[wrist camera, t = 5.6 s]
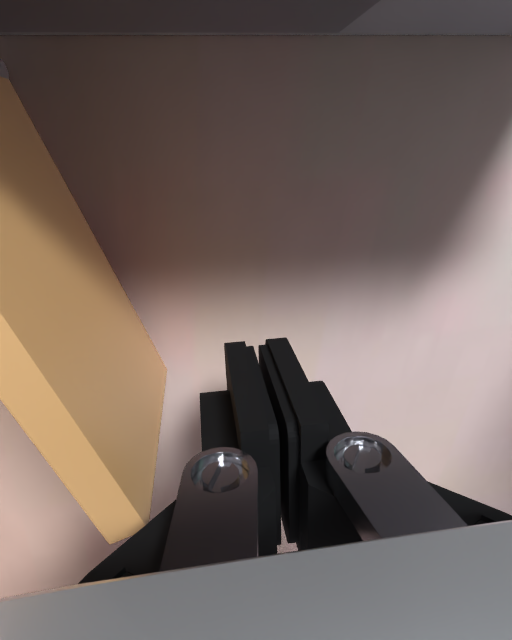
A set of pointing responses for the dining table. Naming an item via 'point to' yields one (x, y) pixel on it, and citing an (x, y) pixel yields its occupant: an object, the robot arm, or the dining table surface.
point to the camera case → (255, 17)
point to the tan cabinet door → (72, 339)
